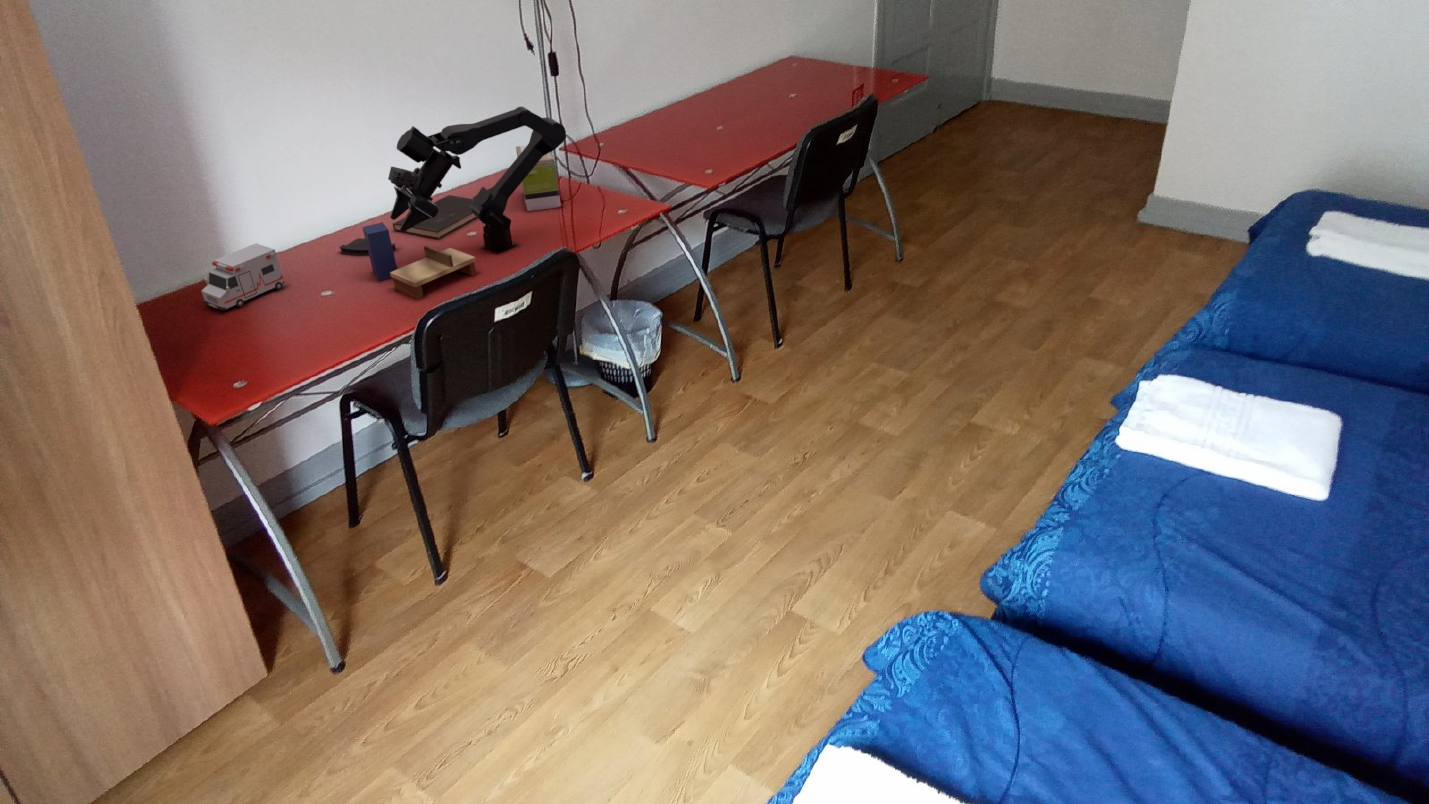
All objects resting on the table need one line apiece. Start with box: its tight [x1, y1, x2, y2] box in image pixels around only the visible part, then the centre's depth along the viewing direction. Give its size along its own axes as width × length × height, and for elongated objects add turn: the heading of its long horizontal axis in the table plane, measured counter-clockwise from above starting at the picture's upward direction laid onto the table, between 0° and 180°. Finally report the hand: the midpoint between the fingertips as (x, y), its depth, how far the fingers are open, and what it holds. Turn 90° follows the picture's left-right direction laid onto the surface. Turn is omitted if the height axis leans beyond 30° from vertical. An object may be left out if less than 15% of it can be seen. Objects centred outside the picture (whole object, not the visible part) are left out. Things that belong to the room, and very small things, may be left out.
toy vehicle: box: [201, 242, 285, 311], centre depth 238 cm, size 10×17×10 cm, turn 146°
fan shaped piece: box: [339, 237, 397, 256], centre depth 262 cm, size 8×14×2 cm, turn 70°
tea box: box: [515, 144, 562, 212], centre depth 284 cm, size 15×10×15 cm, turn 14°
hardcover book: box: [392, 194, 478, 240], centre depth 278 cm, size 16×23×2 cm
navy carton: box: [362, 222, 398, 282], centre depth 245 cm, size 5×6×12 cm
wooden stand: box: [390, 245, 477, 300], centre depth 242 cm, size 18×10×8 cm, turn 140°
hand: (396, 224), depth 244 cm, fingers open, 9 cm apart
